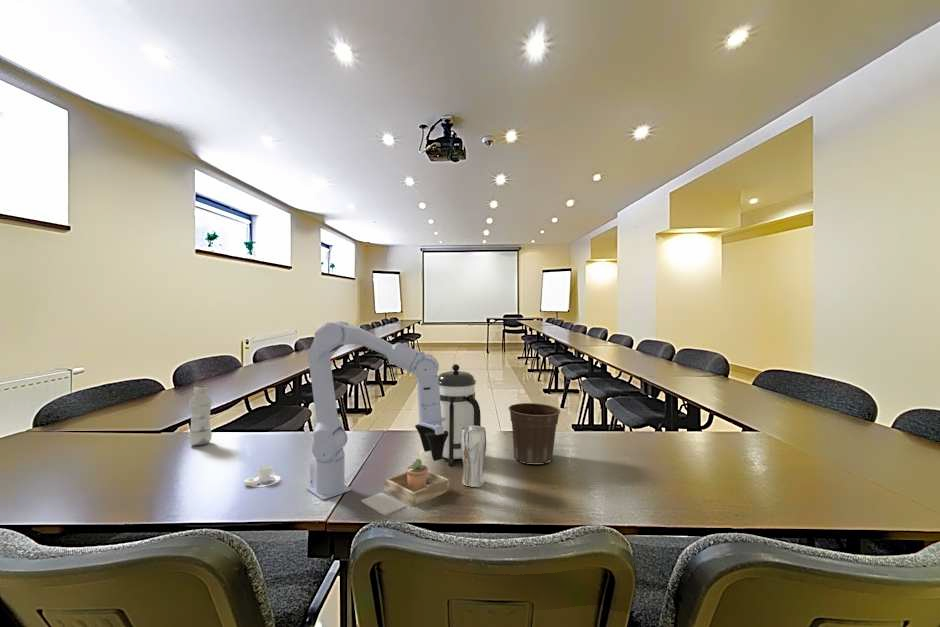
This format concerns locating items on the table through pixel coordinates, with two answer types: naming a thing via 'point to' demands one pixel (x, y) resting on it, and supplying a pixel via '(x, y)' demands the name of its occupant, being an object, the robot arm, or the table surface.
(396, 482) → the frame
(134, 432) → the table surface
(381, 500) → the grey mat
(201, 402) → the plastic bottle
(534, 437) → the plant pot
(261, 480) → the teacup and saucer
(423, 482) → the terracotta pot
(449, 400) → the coffee press
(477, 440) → the silver drink can
